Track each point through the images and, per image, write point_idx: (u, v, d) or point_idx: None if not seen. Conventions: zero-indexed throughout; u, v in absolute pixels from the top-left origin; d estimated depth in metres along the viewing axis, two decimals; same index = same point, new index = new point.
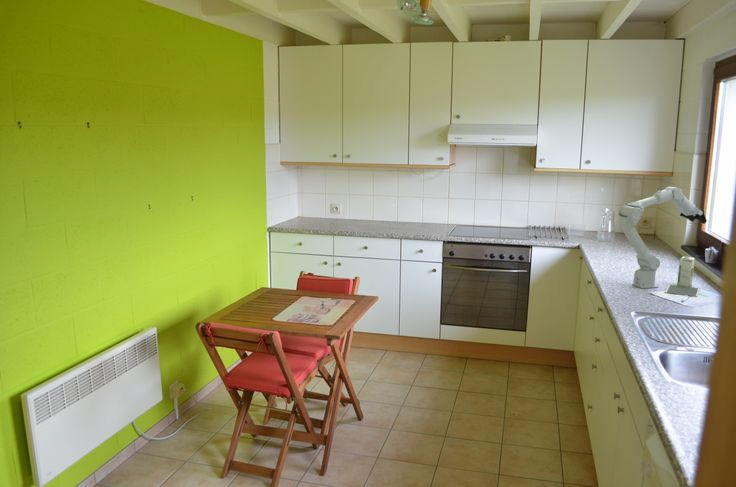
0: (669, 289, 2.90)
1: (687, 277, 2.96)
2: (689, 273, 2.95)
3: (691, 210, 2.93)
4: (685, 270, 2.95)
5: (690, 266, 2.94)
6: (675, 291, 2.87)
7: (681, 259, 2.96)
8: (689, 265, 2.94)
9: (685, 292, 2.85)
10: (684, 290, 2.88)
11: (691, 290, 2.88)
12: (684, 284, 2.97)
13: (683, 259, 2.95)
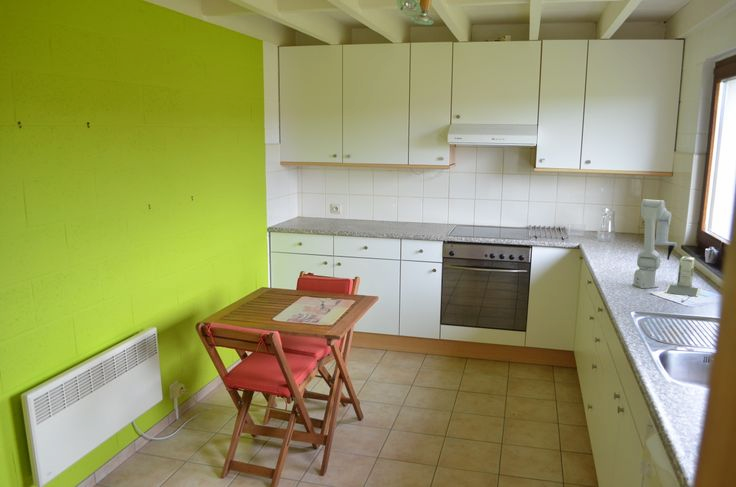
0: (669, 289, 2.90)
1: (687, 277, 2.96)
2: (689, 273, 2.95)
3: (667, 240, 3.10)
4: (685, 270, 2.95)
5: (690, 266, 2.94)
6: (675, 291, 2.87)
7: (681, 259, 2.96)
8: (689, 265, 2.94)
9: (685, 292, 2.85)
10: (684, 290, 2.88)
11: (691, 290, 2.88)
12: (684, 284, 2.97)
13: (683, 259, 2.95)
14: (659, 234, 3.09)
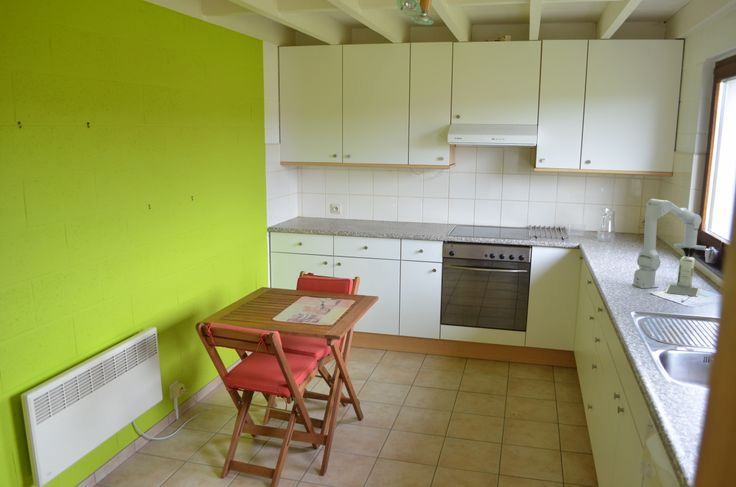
0: (669, 289, 2.90)
1: (687, 277, 2.96)
2: (689, 273, 2.95)
3: None
4: (685, 270, 2.95)
5: (690, 266, 2.94)
6: (675, 291, 2.87)
7: (681, 259, 2.96)
8: (689, 265, 2.94)
9: (685, 292, 2.85)
10: (684, 290, 2.88)
11: (691, 290, 2.88)
12: (684, 284, 2.97)
13: (683, 259, 2.95)
14: (688, 237, 3.02)
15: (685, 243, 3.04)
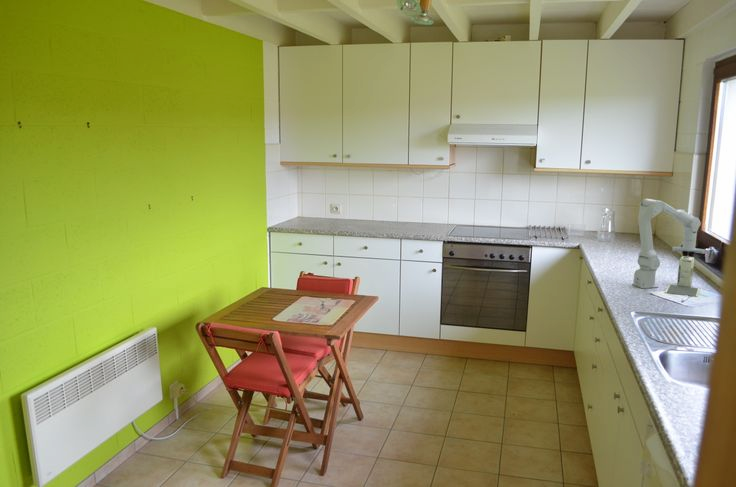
0: (669, 289, 2.90)
1: (686, 278, 2.95)
2: (689, 273, 2.94)
3: None
4: (685, 270, 2.95)
5: (690, 266, 2.93)
6: (675, 291, 2.87)
7: (680, 260, 2.95)
8: (689, 265, 2.93)
9: (685, 292, 2.85)
10: (684, 290, 2.88)
11: (691, 290, 2.88)
12: (684, 284, 2.97)
13: (682, 260, 2.94)
14: (686, 240, 2.97)
15: (684, 246, 2.99)
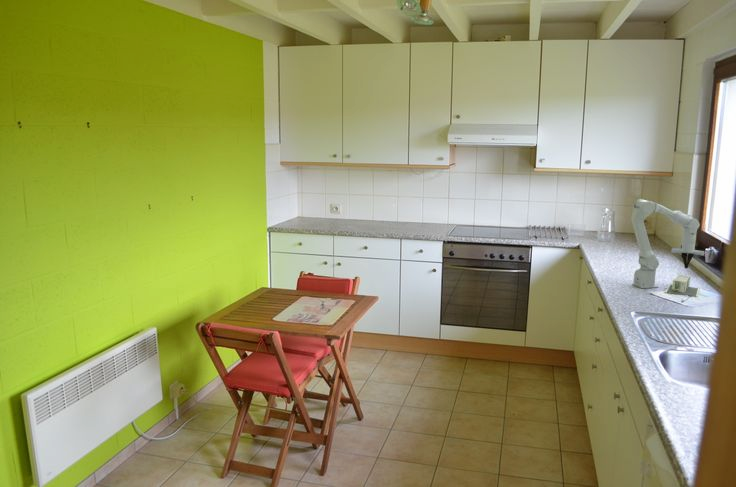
0: (669, 289, 2.90)
1: None
2: None
3: (694, 249, 2.93)
4: None
5: None
6: (675, 291, 2.87)
7: (673, 290, 2.88)
8: None
9: (685, 292, 2.85)
10: None
11: (691, 290, 2.88)
12: None
13: None
14: (686, 242, 2.92)
15: (683, 248, 2.94)
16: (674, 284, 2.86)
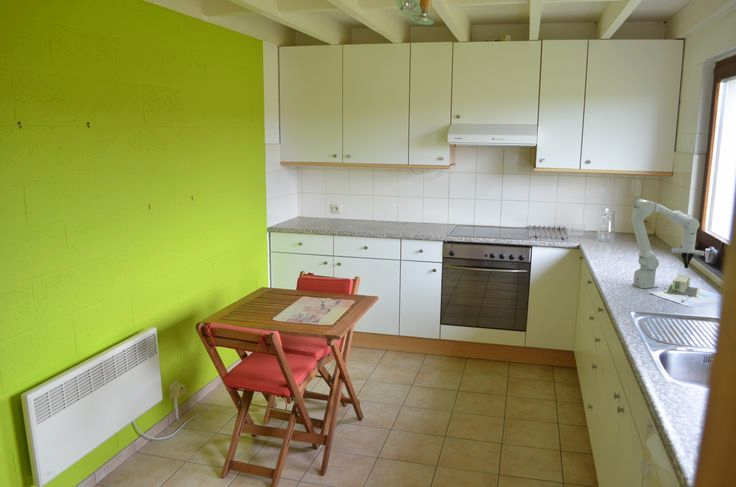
0: (669, 289, 2.90)
1: None
2: None
3: (694, 249, 2.93)
4: None
5: None
6: (675, 291, 2.87)
7: (673, 290, 2.88)
8: None
9: (685, 292, 2.85)
10: None
11: (691, 290, 2.88)
12: None
13: None
14: (686, 242, 2.92)
15: (683, 248, 2.94)
16: (674, 284, 2.86)
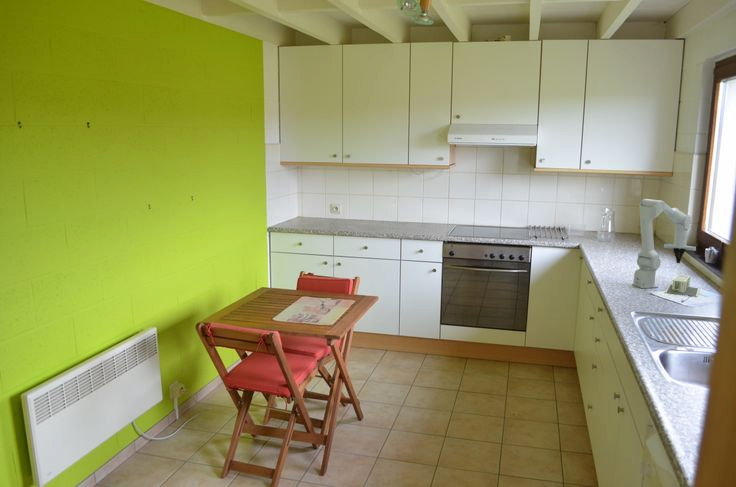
0: (669, 289, 2.90)
1: None
2: None
3: None
4: None
5: None
6: (675, 291, 2.87)
7: (673, 290, 2.88)
8: None
9: (685, 292, 2.85)
10: None
11: (691, 290, 2.88)
12: None
13: None
14: (677, 238, 3.02)
15: (675, 243, 3.04)
16: (674, 284, 2.86)
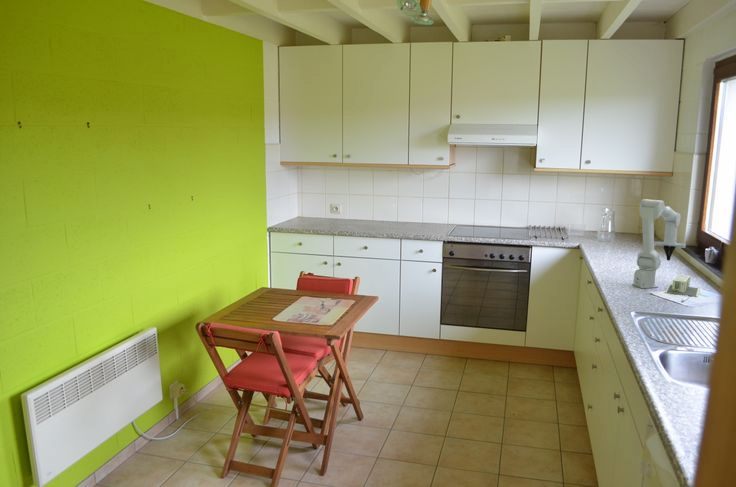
0: (669, 289, 2.90)
1: None
2: None
3: (675, 242, 3.06)
4: None
5: None
6: (675, 291, 2.87)
7: (673, 290, 2.88)
8: None
9: (685, 292, 2.85)
10: None
11: (691, 290, 2.88)
12: None
13: None
14: (667, 235, 3.06)
15: (665, 241, 3.08)
16: (674, 284, 2.86)
